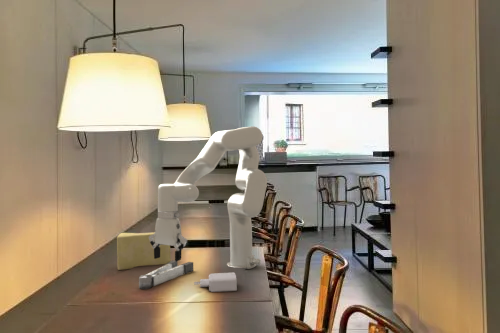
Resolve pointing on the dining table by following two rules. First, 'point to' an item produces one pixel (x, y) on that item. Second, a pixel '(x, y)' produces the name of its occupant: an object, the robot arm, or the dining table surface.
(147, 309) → the dining table surface
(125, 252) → the cheese
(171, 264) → the tongs leg
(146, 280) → the tongs hinge pin
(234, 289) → the charger
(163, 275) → the tongs leg
